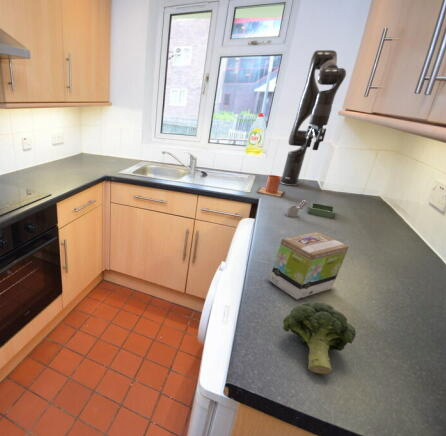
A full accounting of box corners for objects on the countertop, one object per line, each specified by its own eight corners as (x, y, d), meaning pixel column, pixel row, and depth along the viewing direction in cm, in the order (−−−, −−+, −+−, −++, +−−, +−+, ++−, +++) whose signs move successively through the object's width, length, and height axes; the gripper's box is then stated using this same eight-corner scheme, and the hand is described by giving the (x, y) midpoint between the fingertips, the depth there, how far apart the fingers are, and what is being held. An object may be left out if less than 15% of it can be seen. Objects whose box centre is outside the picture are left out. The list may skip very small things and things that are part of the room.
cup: (271, 189, 176) (274, 174, 173) (279, 193, 171) (283, 177, 167) (262, 190, 175) (265, 175, 171) (270, 193, 169) (274, 178, 165)
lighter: (287, 216, 139) (292, 200, 136) (286, 214, 141) (290, 198, 137) (303, 217, 139) (308, 201, 135) (301, 215, 140) (306, 199, 137)
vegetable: (271, 354, 61) (277, 292, 70) (302, 382, 66) (304, 320, 74) (338, 358, 52) (335, 286, 61) (370, 390, 56) (363, 318, 65)
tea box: (298, 301, 81) (313, 254, 75) (268, 281, 90) (280, 237, 84) (333, 289, 87) (350, 244, 81) (301, 271, 95) (315, 229, 89)
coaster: (261, 187, 181) (261, 187, 180) (283, 191, 174) (283, 191, 174) (257, 192, 171) (257, 191, 171) (280, 197, 165) (280, 196, 165)
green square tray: (310, 207, 151) (311, 202, 149) (332, 212, 146) (334, 206, 144) (308, 213, 143) (310, 207, 142) (332, 218, 138) (334, 212, 137)
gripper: (336, 115, 135) (325, 151, 142) (322, 113, 148) (312, 146, 155) (319, 115, 136) (309, 150, 143) (306, 113, 149) (297, 145, 156)
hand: (310, 148), depth 149 cm, fingers open, 8 cm apart
